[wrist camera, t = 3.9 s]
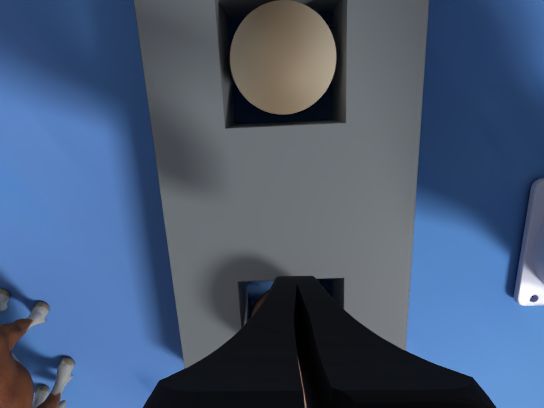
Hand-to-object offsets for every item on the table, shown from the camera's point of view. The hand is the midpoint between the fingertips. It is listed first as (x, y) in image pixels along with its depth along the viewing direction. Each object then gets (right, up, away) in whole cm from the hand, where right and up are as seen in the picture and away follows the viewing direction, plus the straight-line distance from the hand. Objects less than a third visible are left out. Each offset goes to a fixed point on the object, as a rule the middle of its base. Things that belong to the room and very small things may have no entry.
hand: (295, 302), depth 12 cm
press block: (0, +4, +9) cm, 10 cm away
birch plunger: (0, +10, +6) cm, 12 cm away
